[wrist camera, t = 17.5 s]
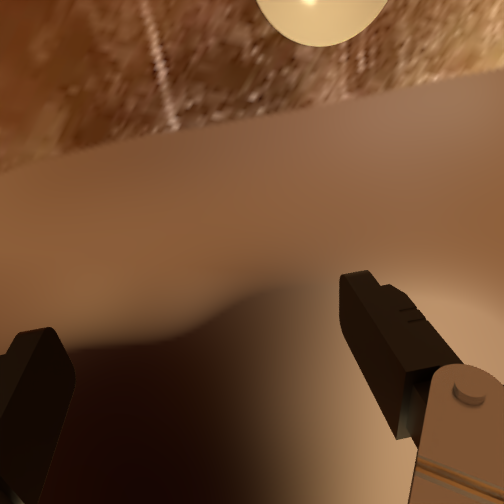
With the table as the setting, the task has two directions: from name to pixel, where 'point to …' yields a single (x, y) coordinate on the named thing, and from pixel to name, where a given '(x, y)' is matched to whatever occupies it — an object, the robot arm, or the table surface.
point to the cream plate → (320, 19)
